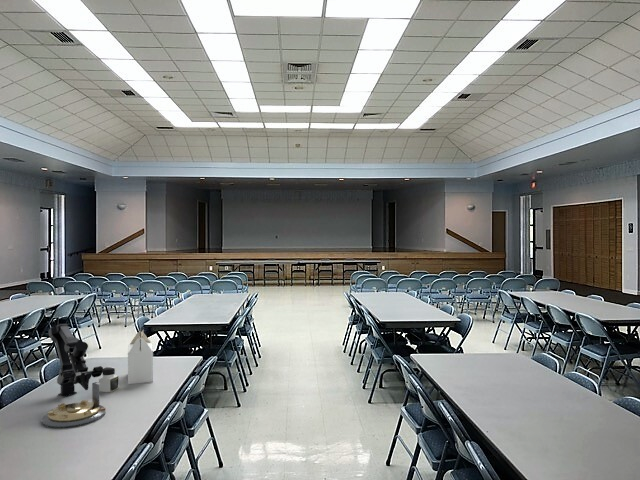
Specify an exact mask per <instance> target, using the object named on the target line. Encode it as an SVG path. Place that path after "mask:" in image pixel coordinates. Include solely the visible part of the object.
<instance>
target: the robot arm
mask: <svg viewBox="0 0 640 480" xmlns="http://www.w3.org/2000/svg"><path fill="white" fill-rule="evenodd" d="M48 336H49V338H50V340H51V341H52V342H53V343H54V344H55V346H56V347H55V348H56V351H57V354H58V359H59V363H60V366H61V368H60V370H59V371H58V372H59V373H58V376H57V378H56V384H58V385H59V386H60V392H59V393H57V395H58V396H61V397H69V396H72V395H75V394H77V393H78V391H75V390H76V388H75V387H76V384H79V386H81V387H82V388H83V389H84V390H85V391H88V390H89V382H90V380H91V378H98V377H99V378H100V377H102V375H103V369H104V367H103V366H102V365H99V366H94V367H93V369H92V370H89V367H88V366H87V364H86V363H87V360H86V359H85V357H84V356H86V353H87V351H88V349H89V344H88V343H87V342H86V341H83V340H82V339H79V338H78V337H75V336H74V335H73V333H72V331H71V329H70V328H69V324H68V323H62V324H61V323H60V324H57V325H55V326H52V327H50V328H49V329H48Z"/></svg>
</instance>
